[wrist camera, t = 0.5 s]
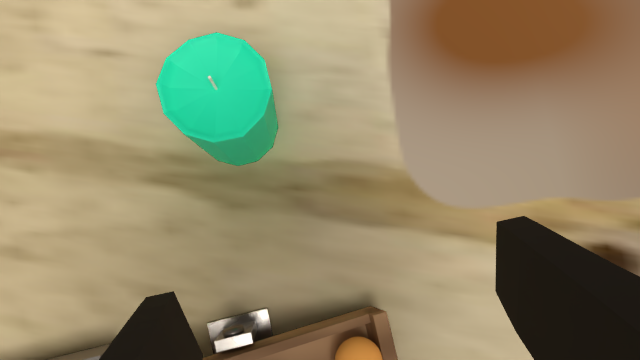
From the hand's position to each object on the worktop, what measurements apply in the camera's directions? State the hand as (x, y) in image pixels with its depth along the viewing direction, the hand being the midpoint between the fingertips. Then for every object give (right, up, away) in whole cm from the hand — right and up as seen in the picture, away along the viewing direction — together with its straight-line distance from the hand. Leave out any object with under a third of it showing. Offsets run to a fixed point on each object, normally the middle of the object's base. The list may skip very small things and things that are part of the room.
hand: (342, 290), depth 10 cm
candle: (-7, +7, +24) cm, 26 cm away
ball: (+2, -10, +20) cm, 22 cm away
